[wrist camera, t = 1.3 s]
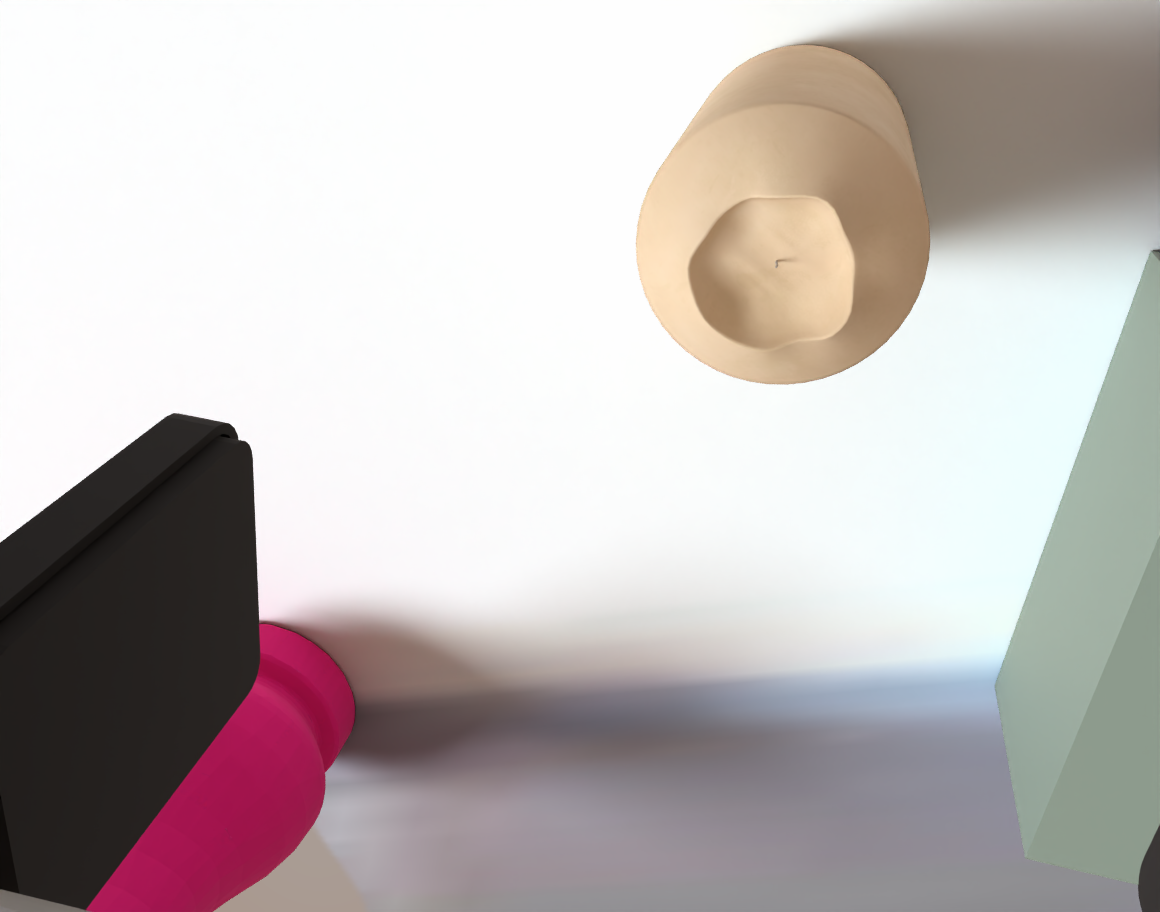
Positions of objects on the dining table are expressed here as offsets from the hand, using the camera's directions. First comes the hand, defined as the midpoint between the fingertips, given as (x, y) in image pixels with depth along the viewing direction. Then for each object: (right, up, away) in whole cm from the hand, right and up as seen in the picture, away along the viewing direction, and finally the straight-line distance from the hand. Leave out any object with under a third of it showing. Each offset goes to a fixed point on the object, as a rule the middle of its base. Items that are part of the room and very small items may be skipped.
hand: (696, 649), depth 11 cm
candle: (+5, +10, +18) cm, 21 cm away
